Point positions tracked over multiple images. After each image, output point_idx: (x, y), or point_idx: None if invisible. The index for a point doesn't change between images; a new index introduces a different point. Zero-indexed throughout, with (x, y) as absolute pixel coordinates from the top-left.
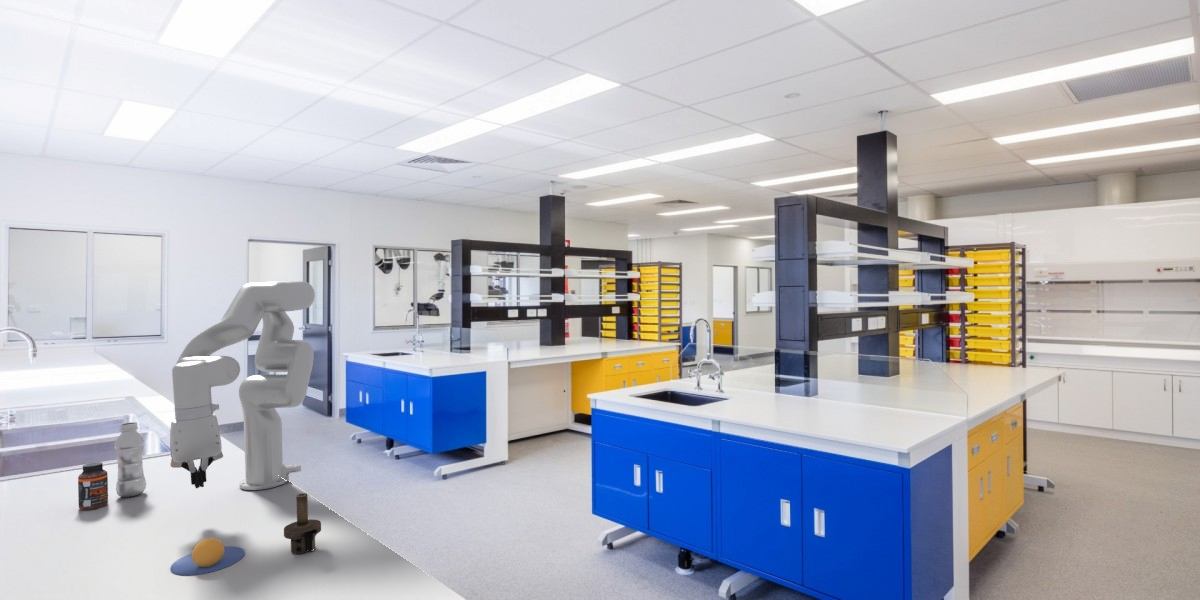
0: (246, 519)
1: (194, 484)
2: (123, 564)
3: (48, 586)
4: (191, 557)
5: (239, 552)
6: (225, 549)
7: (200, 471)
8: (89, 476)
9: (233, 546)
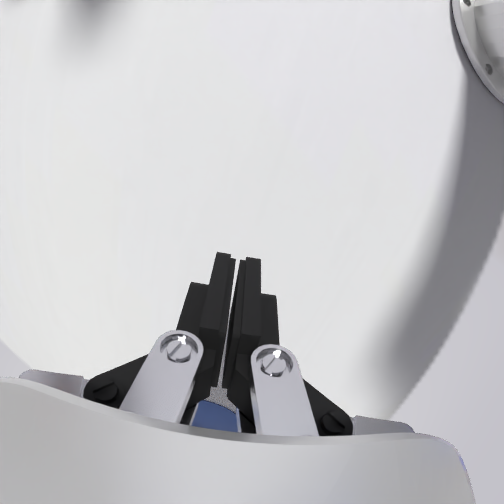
0: (329, 315)
1: (216, 254)
2: (71, 352)
3: (5, 338)
4: None
5: (233, 431)
6: (220, 416)
7: (228, 395)
8: None
9: (234, 416)
